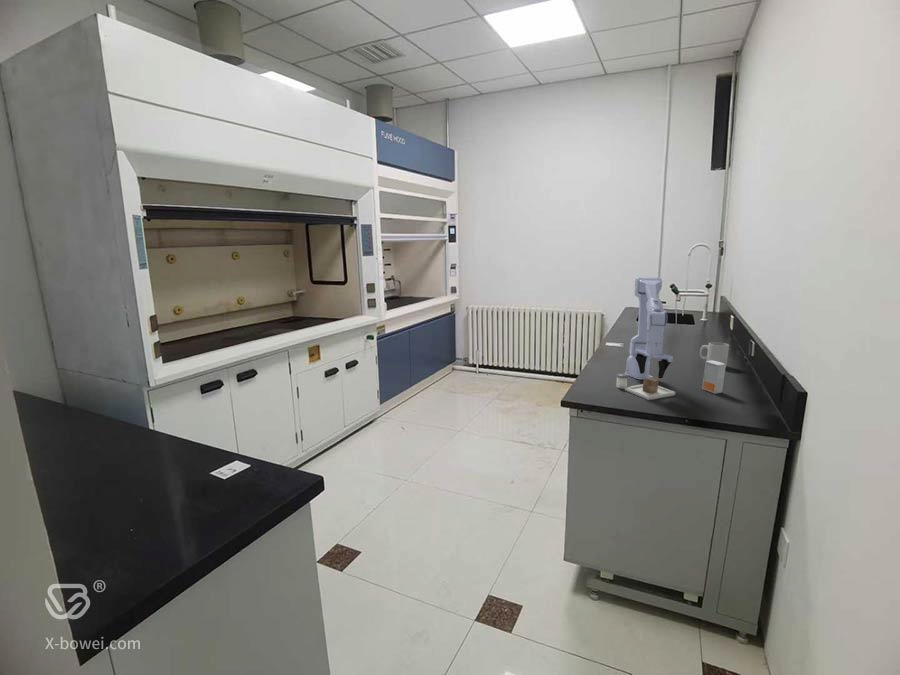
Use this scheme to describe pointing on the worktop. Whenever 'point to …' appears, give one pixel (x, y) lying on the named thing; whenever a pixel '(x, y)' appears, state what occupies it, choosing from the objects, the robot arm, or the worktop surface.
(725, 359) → the mug
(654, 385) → the walnut block
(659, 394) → the tray
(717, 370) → the skincare box
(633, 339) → the robot arm
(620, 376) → the sample jar
